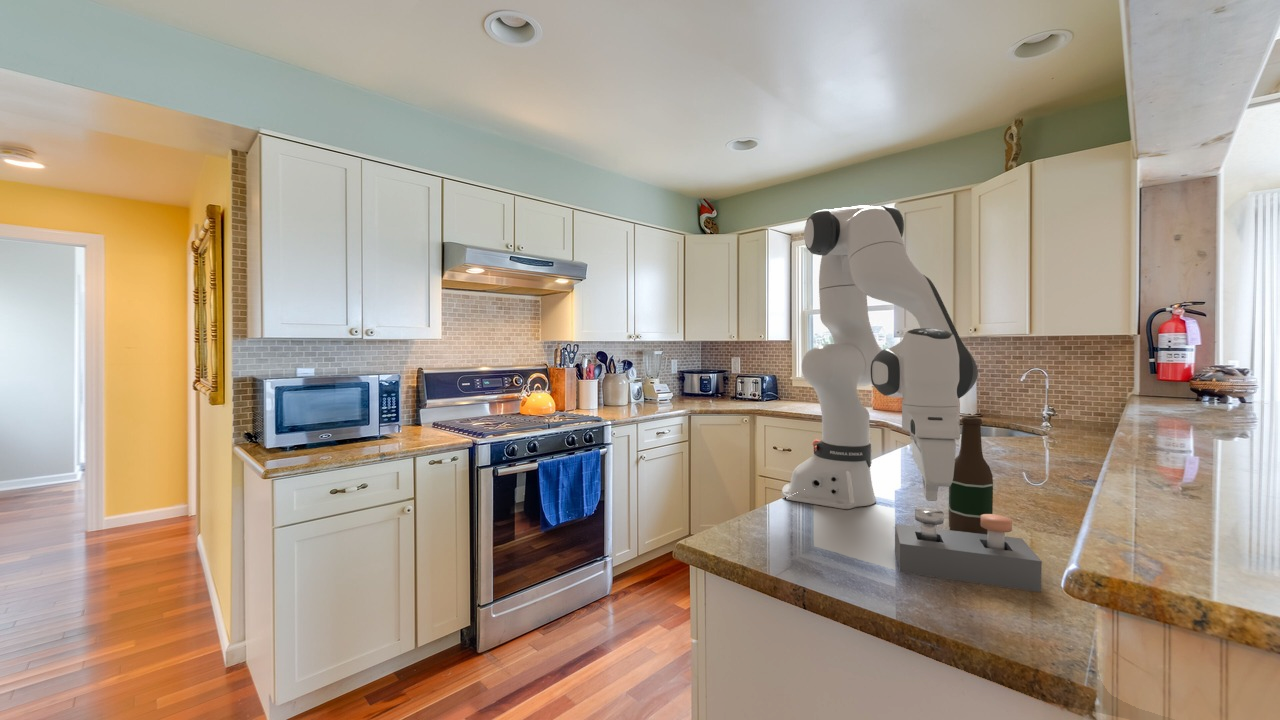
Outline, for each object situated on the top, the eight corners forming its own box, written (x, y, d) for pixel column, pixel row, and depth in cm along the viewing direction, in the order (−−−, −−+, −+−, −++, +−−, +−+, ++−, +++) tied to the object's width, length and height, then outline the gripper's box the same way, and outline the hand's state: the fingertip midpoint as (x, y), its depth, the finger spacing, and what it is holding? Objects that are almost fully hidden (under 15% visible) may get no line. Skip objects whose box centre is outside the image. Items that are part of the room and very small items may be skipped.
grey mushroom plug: (916, 548, 90) (916, 513, 90) (913, 539, 94) (913, 506, 94) (945, 551, 89) (945, 516, 88) (940, 542, 93) (941, 509, 93)
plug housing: (899, 572, 89) (900, 543, 89) (894, 550, 98) (895, 524, 98) (1041, 592, 81) (1041, 561, 81) (1021, 566, 91) (1021, 538, 91)
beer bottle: (996, 532, 107) (998, 417, 106) (987, 543, 101) (989, 421, 100) (953, 523, 112) (954, 413, 111) (943, 533, 106) (944, 417, 106)
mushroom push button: (983, 556, 87) (984, 520, 86) (977, 546, 91) (977, 512, 90) (1014, 560, 85) (1015, 524, 85) (1007, 550, 89) (1007, 515, 89)
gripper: (904, 412, 101) (904, 482, 102) (916, 428, 82) (917, 514, 83) (940, 413, 99) (941, 485, 99) (962, 430, 80) (962, 518, 80)
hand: (930, 498), depth 91 cm, fingers closed
